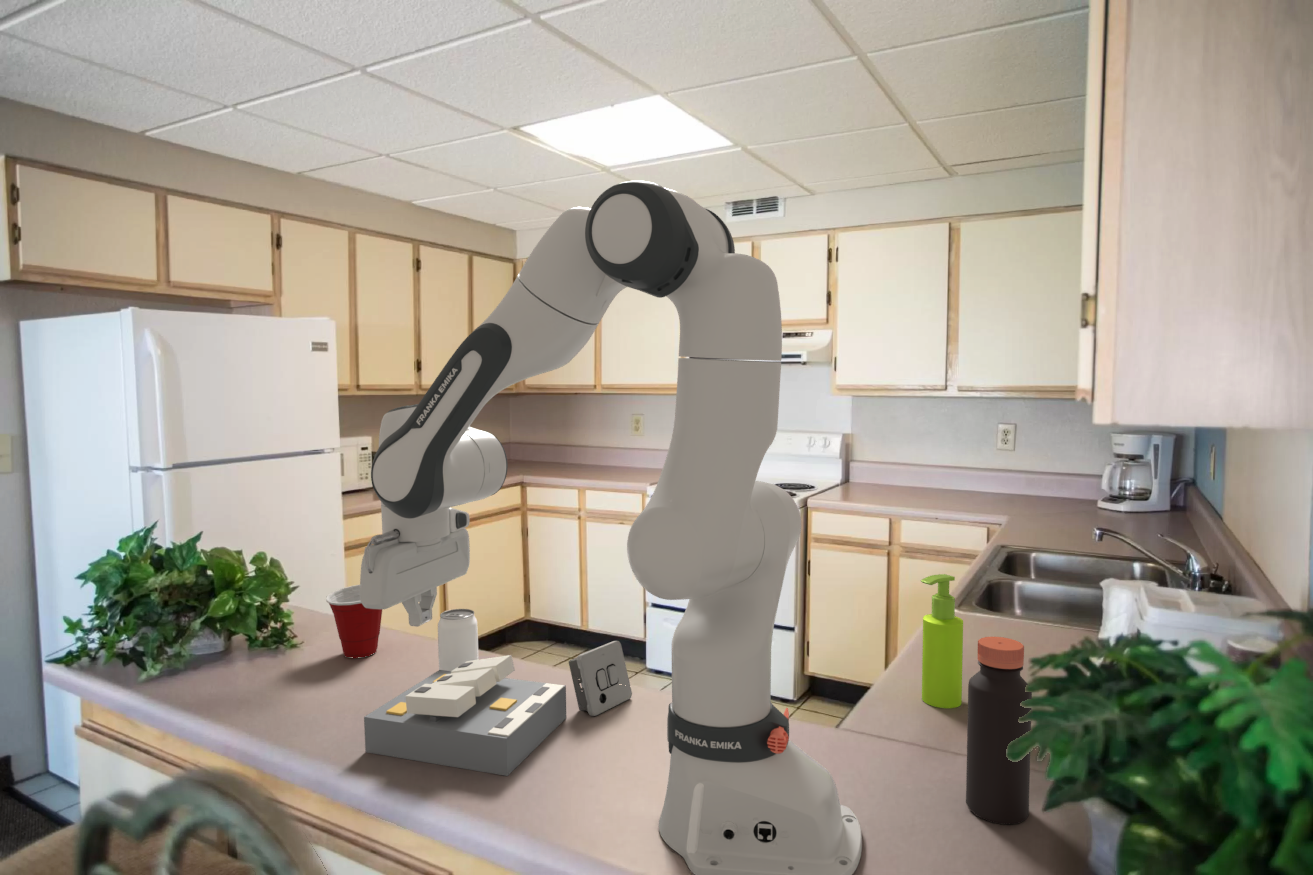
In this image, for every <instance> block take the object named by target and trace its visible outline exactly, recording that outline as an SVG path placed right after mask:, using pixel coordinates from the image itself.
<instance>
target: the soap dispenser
mask: <svg viewBox="0 0 1313 875" xmlns="http://www.w3.org/2000/svg"><path fill="white" fill-rule="evenodd" d="M955 579H956V577H955V576H953V575H949V574H946V573H942V574H940V573H939V574H932V575H929V576H926V577H923V578H922V579H921V580H920V582H921V584H925V585H927V586H928V585H929V586H933V585H935V584H937V593H935V594H933V595H932V596H931V613H929V614H928V613H927V614H924V615H923V617H922V654H921V656H922V658H921V659H922V660H921V665H922V666H921V668H922V669H921V700H922V701H923V703H925V704H926V705H929V706H930V707H934V708H939V709H956V708H959V707H960V706H962V702H963V701H962V700H963V698H962V697H963V656H964V655H963V654H964V653H963V652H964V651H963V648H964V619H962V618H961V617H959V616H957V615H956V614H955V612H956V609H955V608H956V599H955V598H956V597H955V596H952V594H950V582H954V581H956V580H955Z"/></svg>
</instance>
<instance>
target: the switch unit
mask: <svg viewBox="0 0 1313 875" xmlns="http://www.w3.org/2000/svg"><path fill="white" fill-rule="evenodd" d="M446 674H451V671H445V670H439V669H438V670H437V671H435V672H433V673H432V674H431V675H429V676H427V677H425V678H424V679H422V680H420V682H418V683H416V684H414V685H413V686H412V687H409V688H408V689H407V690H405V691H404V692H402V693H400V694H399V695H397V696H395V697H394V698H392V699H391V700H389V701H387V702H386V703H384V704H382V705H381V706H379V707H378V708H376V709H375V710H373V711H371V712H370V713H368V714H366V715H365V716H364V717H363V721H364V722H363V724H364V725H363V726H364V749H365V751H364V752H365V753H370V754H373V755H375V754H376V755H381V756H386V757H392V758H393V757H394V758H398V759H405V760H410V761H417V762H421V763H427V764H433V765H439V766H440V765H441V766H446V767H452V768H459V769H463V770H468V771H476V772H480V773H488V774H493V775H494V774H495V775H500V776H506V777H509V775H510V774H511V773H512V772H513V771H514V770H515V769H516V768H517V767H518V766H520V764H521V763H522V762H523V761H525V759H526V758H527V757H529V755H530V754H532V752H534V751H535V749H536V748H538V747H539V745H540V744H542V743H543V742H544V740H546V738H547V737H549V736H550V735H551V734H552V733H553V732H554V730H556V729H557V728H558V727H559V725H561V724H562V723H563V722H564V721H565V720H566V719H567V693H566V692H567V686H566V685H564V684H558V683H557V684H556V683H549V682H543V681H542V682H540V681H533V680H532V681H531V680H523V679H518V678H517V679H515V678H507V677H505V678H504V679H503V680H501V681H500V682H496V685H495V686H493V687H492V688H491V689H489V690H488V691H486V692H485V693H484V694H482V695H481V696H477V697H475V699H476V704H475V705H474V706H472V707H471V708H470V709H468V710H467V711H466V712H464V713H463V714H462V715H460V716H459V717H448V716H435V715H422V714H410V713H407V707H406V695H408V694H410V693H411V692H413V691H414V690H416V689H417V688H419V687H421V686H422V685H424V684H432V683H434V682H435V681H437V680H438V679H440V678H442V677H443V676H445V675H446Z"/></svg>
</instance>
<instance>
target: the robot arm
mask: <svg viewBox="0 0 1313 875" xmlns="http://www.w3.org/2000/svg"><path fill="white" fill-rule="evenodd" d="M735 252H736V250H735V243H734V239H733V236H732V233H731V231H730V229H729V228H728V226H727V225H726V223H725V222H724V221H723V219H722V218H720V217H719V216H718V214H716V213H715V212H714V211H712V210H710V209H708V208H705V207H703V206H702V205H700V204H699V203H698V202H696V201H695V200H694V199H693V198H691V197H690V196H688V195H687V194H684V193H681V192H679V191H676V190H673V189H671V188H670V189H669V188H666V187H664V186H662V185H660V184H658V183H655V182H652V181H645V180H630V181H623V182H620V183H617V184H614V185H612V186H610V187H609V188H607V189H605V190H604V191H603V192H602V193H601V194H600V195H599V196H598V197H597V198H596V200H595V201H594V202H593V204H592V205H591V207H590V208H589V207H582V206H577V207H572V208H568V209H566V210H565V211H563V212H562V213H561V214H560V215H559V216H558V217H557V218H556V220H554V222H553V223H552V224H550V226H549V228H548V229H547V230H546V232H545V233H544V234H543V235H542V236H541V238H540V239H539V241H538V242H537V243H536V245H535V247H534V248H533V250H531V252H530V254H529V255H528V257H527V259H526V261H525V262H524V264H523V266H522V267H521V269H520V271H519V273H518V275H516V278H515V280H514V281H513V283H512V285H511V286H510V288H509V289H508V291H507V292H506V294H505V295H504V297H503V298H502V299H501V300H500V301H499V303H498V304H497V306H496V307H495V308H494V310H493V311H492V312H491V313H490V314H489V315H488V317H487V318H486V319H485V320H484V321H482V323H481V324H480V325H478V326H477V327H476V328H475V329H474V330H473V331H472V332H471V333H470V334H469V335H468V336H467V337H466V338H465V339H464V340H463V341H462V342H461V344H460V345H459V346H458V347H457V348H456V350H455V351H454V353H453V354H452V355H451V357H450V358H448V360H447V362H446V364H445V365H444V366H443V368H442V369H441V370H440V372H439V373H438V375H437V377H435V380H434V381H433V382H432V384H431V385H430V387H429V388H428V390H426V392H425V394H424V396H423V397H422V398H421V399H420V401H419V403H416V404H412V405H402V406H399V407H395V408H393V409H391V410H388V412H386V413H384V415H383V417H382V419H381V421H380V427H379V434H378V448H377V450H376V452H375V454H374V457H373V460H372V463H371V468H370V469H371V471H370V480H371V485H372V488H373V491H374V493H375V495H376V497H377V498H378V500H380V508H381V509H380V510H381V512H380V514H381V530H382V531H381V534H375V535H374V536H372V537H371V539H370V541H369V542H368V543H367V546H366V547H365V548H364V551H363V552H364V553H363V556H362V560H361V565H360V574H359V575H360V576H359V577H360V578H359V579H360V580H359V585H360V601H361V603H362V604H363V606H364V607H365V608H370V609H382V610H388V609H389V608H391V607H393V606H396V605H399V604H402V606H403V607H404V609H405V611H406V612H407V616H408V624H409V626H410V627H416V628H417V627H421V626H422V625H424V624H426V623H428V622H430V621H431V620H433V607H434V604H435V601H436V599H437V595H438V592H437V591H438V588H437V587H440V586H443V585H444V584H447V583H448V582H452V581H454V580H456V579H458V578H460V577H463V576H465V575H466V574H467V572H468V570H469V568H470V561H471V560H470V559H471V557H470V556H471V554H470V551H471V549H470V548H471V546H470V535H469V532H468V530H467V529H466V528H468V527H469V526H470V514H469V513H468V512H467V511H466V510H465V511H464V510H460V509H456V508H454V507H458V506H460V505H462V506H463V505H465V504H468V503H473V502H477V501H482V500H484V499H487V498H489V497H491V496H492V497H493V495H496V493H498V492H499V491H500V490H501V488H503V486H504V483H505V481H506V479H507V475H508V467H509V466H508V464H509V463H508V458H507V457H508V456H507V453H506V450H505V447H504V446H503V444H502V442H501V441H500V440H499V439H498V437H497V436H496V435H494V434H493V433H491V432H490V431H488V430H481V429H478V428H475V427H472V426H471V425H472V424H473V422H474V421H475V420H476V418H477V416H478V415H479V414H480V412H481V411H482V409H483V408H484V407H485V405H486V404H487V403H488V402H489V401H490V400H491V399H492V398H493V397H495V396H496V395H497V394H499V393H500V392H502V391H503V390H505V389H507V388H509V387H511V386H512V385H515V384H517V383H520V382H522V381H525V380H527V379H530V378H533V377H535V376H539V375H543V374H545V373H549V372H552V371H554V370H558V369H560V368H562V367H564V366H566V365H568V364H569V363H570V362H571V361H572V360H574V358H575V357H576V356H577V355H578V354H579V353H580V352H581V351H582V349H584V347H585V346H586V345H587V343H588V342H589V340H590V339H591V338H592V336H593V334H594V332H595V330H596V329H597V328H598V326H599V324H600V322H601V321H602V320H603V318H604V315H605V314H606V312H607V311H608V309H609V307H610V304H612V302H613V301H614V299H615V297H616V296H618V295H619V293H620V292H622V291H624V289H626V288H630V289H633V290H637V291H640V292H643V293H645V294H647V295H650V296H652V297H655V298H665V297H666V298H668V300H670V301H671V302H672V303H673V305H674V307H675V309H676V311H677V314H678V319H679V344H678V358H677V359H678V362H677V378H676V379H677V382H676V396H675V397H676V398H675V410H674V411H675V412H674V422H673V428H672V434H671V438H670V439H671V440H670V442H669V447H668V450H667V454H666V456H665V457H666V458H665V460H664V463H663V467H662V470H661V472H660V475H659V478H658V480H657V484H656V486H655V488H654V491H653V493H652V495H651V497H650V499H649V501H648V502H647V504H646V506H645V507H644V509H643V510H642V511H641V512H640V513H639V515H638V516H637V517H636V518H635V519H634V521H633V522H632V524H631V526H630V529H629V531H628V534H627V535H628V536H627V541H626V552H627V558H628V560H627V561H628V563H629V566H630V569H631V572H632V574H633V576H634V577H635V580H637V582H638V583H639V585H640V586H641V587H642V588H643V589H644V590H646V591H647V592H648V593H649V594H651V595H652V596H654V597H657V598H659V599H662V600H665V601H667V600H668V601H675V600H676V601H678V600H688V603H687V605H686V607H685V611H684V613H683V615H682V617H681V619H680V621H679V622H678V623H677V626H676V627H675V629H674V632H673V635H672V638H671V702H670V703H669V705H668V713H667V717H666V718H667V720H666V721H667V723H666V726H667V727H666V729H667V730H666V731H667V732H666V735H667V737H666V738H667V739H666V740H667V742H668V744H667V745H668V753H669V754H670V760H669V761H670V762H669V772H668V780H667V786H666V793H665V798H664V803H663V806H662V810H661V813H660V816H659V819H658V830H659V834H660V836H661V838H662V839H663V841H664V842H665V843H666V845H667V846H669V848H671V849H672V850H673V851H674V852H676V853H677V854H679V855H680V856H681V857H682V858H683V859H684V861H685V863H686V865H687V867H688V868H689V870H690V871H691V873H692V874H693V875H854V873H855V872H856V870H857V868H858V866H859V863H860V859H861V857H862V851H863V850H862V848H863V837H862V827H861V824H860V822H859V819H858V817H857V816H856V814H855V813H854V812H853V811H852V809H851V808H850V807H849V806H846V805H843V804H841V802H840V796H839V793H838V788H837V786H836V782H835V780H834V778H833V776H832V774H831V773H830V771H829V770H828V769H827V768H826V767H825V766H823V765H822V764H821V763H819V761H817V760H816V759H814V758H813V757H812V756H810V755H809V754H808V753H806V752H805V751H804V750H803V749H802V748H800V747H799V746H798V745H796V743H794V742H793V741H791V739H790V721H789V720H790V718H789V717H790V713H789V712H790V711H789V708H788V707H786V708H785V709H784V712H783V713H782V712H781V710H779V709H778V708H777V707H776V706H775V705H774V704H773V703H772V701H771V693H772V692H771V689H772V688H771V683H772V681H771V680H772V644H773V643H772V642H773V634H774V627H775V622H776V617H777V612H778V608H779V602H780V597H781V593H782V589H783V584H784V580H785V575H786V570H787V568H788V564H789V561H790V557H791V555H792V553H793V551H794V548H796V545H797V543H798V541H799V539H800V537H801V531H802V517H801V513H800V509H799V507H798V504H797V503H796V502H795V499H793V497H792V495H790V493H788V491H787V490H785V489H784V488H782V487H780V486H779V485H776V484H774V483H769V482H765V481H759V480H756V479H757V476H758V474H759V470H760V468H761V464H762V462H763V459H764V457H765V455H766V453H767V451H768V450H769V449H770V447H771V446H772V444H773V442H774V440H775V438H776V435H777V431H778V422H779V406H780V388H781V374H782V372H781V370H782V362H781V361H782V357H783V356H782V354H783V353H782V352H783V328H782V326H783V325H782V311H781V309H782V308H781V300H780V292H779V285H778V284H779V283H778V280H777V277H776V275H775V272H774V271H773V270H772V268H771V267H770V266H769V264H767V263H765V262H764V261H762V260H761V259H759V258H756V257H754V256H751V255H747V254H743V253H735ZM779 361H780V362H779Z"/></svg>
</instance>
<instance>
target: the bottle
mask: <svg viewBox="0 0 1313 875" xmlns="http://www.w3.org/2000/svg"><path fill="white" fill-rule="evenodd" d="M1024 658H1025V645H1024V644H1023V643H1022V642H1019V641H1018V640H1016V639H1013V638H1008V637H1005V636H1004V637H1001V636H985V637H981V638H978V640H977V664H978V666H980V667H979V668H980V670H979V671H977V672H976V673H975V674H974V675H972V676H971V677H970V678H969V679H968V683H967V684H968V687H967V688H968V689H967V727H966V728H967V729H966V730H967V732H966V733H967V736H966V737H967V740H966V742H967V743H966V776H965V777H966V781H965V783H966V784H965V786H966V789H965V803H966V806H967V807H968V809H969V810H970V811H971V812H972V813H973V814H974V815H975V816H977V817H979V818H981V819H983V820H985V821H988V822H990V823H995V824H999V825H1017V824H1020V823H1022V822H1024V821H1026V819H1027V818H1028V817H1029V815H1030V814H1029V812H1030V811H1029V810H1030V809H1029V808H1030V777H1031V776H1030V775H1031V751H1030V752H1029V754H1027V755H1026V756H1025V757H1024V758H1023V759H1022V760H1020V761H1018V762H1012V761H1010V760H1008V758H1007V757H1006V749H1007V746H1008V744H1009V743H1010V742H1011V741H1013V740H1015V739H1016V738H1019V737H1020V736H1022V735H1023V734H1025V733H1026V732H1028V731H1030V730H1031V731H1032V720H1031V721H1028V722H1024V723H1019V722H1018V719H1019V717H1022V716H1024V715H1025V714H1027V713H1028V712H1029V711H1030V710H1031V711H1032V708H1024V707H1022V706H1020V703H1021V702H1022V701H1025V700H1027V699H1032V700H1033V692H1025V687H1026V685H1029V684H1028V683H1027V681H1026V680H1025V679H1024V678H1023V677H1022V676H1021V672H1022V671H1023V670H1024V664H1025V663H1024Z"/></svg>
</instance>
